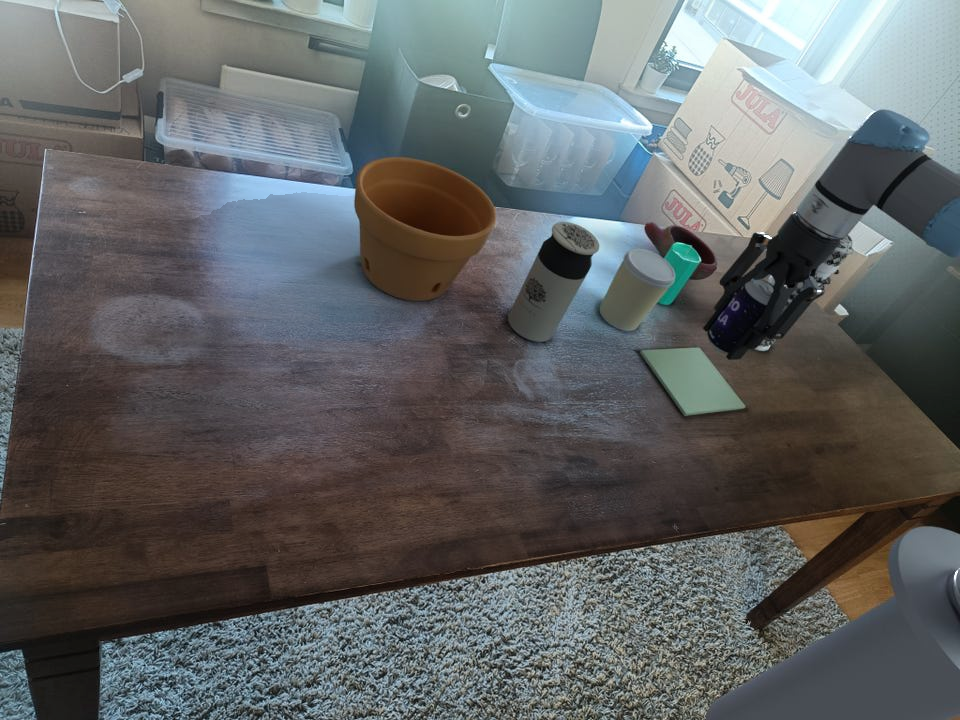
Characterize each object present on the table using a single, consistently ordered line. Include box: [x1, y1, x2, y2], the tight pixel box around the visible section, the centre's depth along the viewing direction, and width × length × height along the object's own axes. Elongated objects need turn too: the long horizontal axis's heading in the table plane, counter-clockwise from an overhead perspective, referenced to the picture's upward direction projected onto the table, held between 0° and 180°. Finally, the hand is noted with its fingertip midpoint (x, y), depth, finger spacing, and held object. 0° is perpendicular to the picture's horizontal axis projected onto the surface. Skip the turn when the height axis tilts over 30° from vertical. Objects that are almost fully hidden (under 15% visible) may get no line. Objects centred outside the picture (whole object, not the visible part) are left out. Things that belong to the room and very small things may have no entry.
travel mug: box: [507, 221, 601, 343], centre depth 97 cm, size 8×8×18 cm
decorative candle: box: [754, 234, 855, 352], centre depth 116 cm, size 9×9×25 cm
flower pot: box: [353, 156, 497, 302], centre depth 97 cm, size 21×21×15 cm
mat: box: [639, 347, 746, 417], centre depth 107 cm, size 14×14×1 cm
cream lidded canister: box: [599, 248, 675, 332], centre depth 110 cm, size 9×9×12 cm
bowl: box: [644, 221, 718, 281], centre depth 130 cm, size 16×13×8 cm
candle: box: [657, 242, 701, 306], centre depth 120 cm, size 6×6×12 cm
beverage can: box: [706, 278, 773, 355], centre depth 97 cm, size 6×6×12 cm
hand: (721, 343), depth 101 cm, fingers closed on beverage can, 6 cm apart
